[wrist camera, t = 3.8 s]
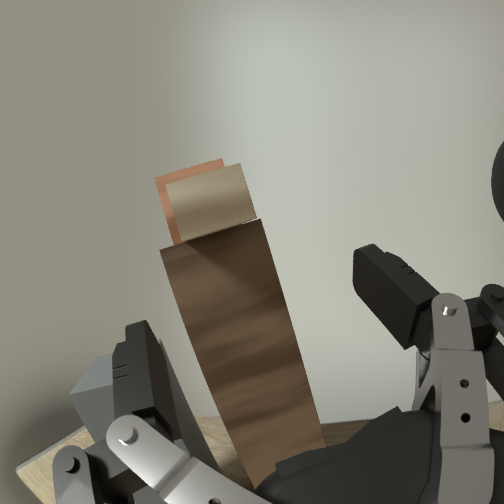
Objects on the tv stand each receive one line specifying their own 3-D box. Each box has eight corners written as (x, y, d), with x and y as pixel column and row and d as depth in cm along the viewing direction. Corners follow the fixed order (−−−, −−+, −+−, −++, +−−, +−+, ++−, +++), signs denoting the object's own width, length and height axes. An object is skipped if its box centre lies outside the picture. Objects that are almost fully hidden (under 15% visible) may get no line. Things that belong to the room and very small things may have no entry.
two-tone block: (275, 212, 17) (241, 108, 16) (162, 247, 16) (133, 137, 15) (234, 227, 33) (217, 170, 32) (176, 245, 32) (159, 187, 31)
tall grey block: (240, 535, 26) (150, 374, 24) (175, 548, 24) (68, 394, 22) (228, 485, 35) (160, 339, 34) (174, 497, 34) (96, 357, 32)
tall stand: (340, 499, 28) (260, 218, 25) (274, 525, 26) (159, 250, 24) (311, 456, 37) (240, 225, 35) (256, 476, 36) (168, 248, 33)
